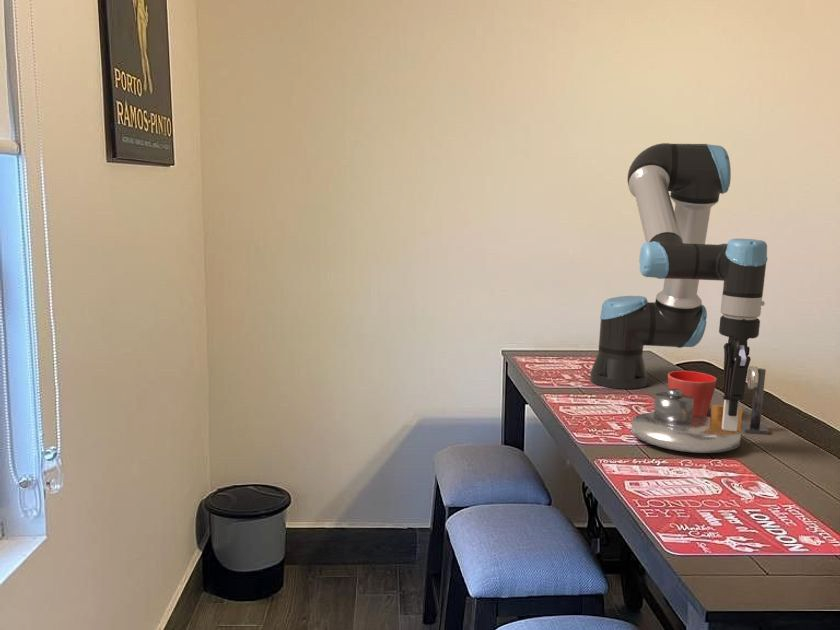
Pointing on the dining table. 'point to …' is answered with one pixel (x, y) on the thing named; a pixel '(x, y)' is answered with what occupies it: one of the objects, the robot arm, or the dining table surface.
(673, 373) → the flower pot
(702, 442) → the turntable
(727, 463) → the dining table surface
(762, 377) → the dial post
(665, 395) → the cover
